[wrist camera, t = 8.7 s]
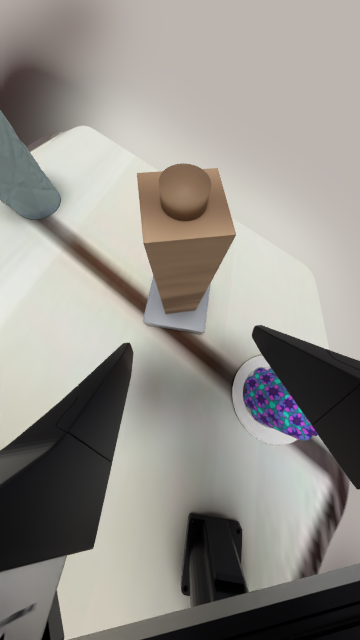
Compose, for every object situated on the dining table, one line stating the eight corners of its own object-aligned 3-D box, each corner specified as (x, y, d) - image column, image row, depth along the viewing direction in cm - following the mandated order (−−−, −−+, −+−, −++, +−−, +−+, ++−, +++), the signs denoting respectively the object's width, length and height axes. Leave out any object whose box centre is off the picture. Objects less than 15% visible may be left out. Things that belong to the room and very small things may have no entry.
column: (195, 310, 19) (244, 218, 5) (165, 314, 19) (138, 227, 5) (191, 283, 20) (222, 146, 6) (162, 286, 20) (131, 151, 6)
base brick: (201, 334, 21) (204, 332, 18) (146, 325, 21) (142, 322, 18) (207, 284, 23) (211, 276, 20) (157, 276, 23) (155, 267, 20)
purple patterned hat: (284, 344, 21) (318, 343, 16) (323, 422, 19) (378, 450, 14) (218, 369, 20) (232, 376, 15) (250, 455, 18) (281, 500, 13)
